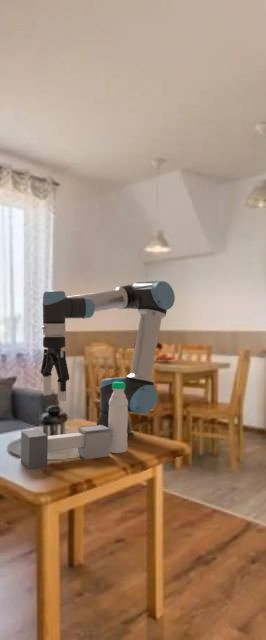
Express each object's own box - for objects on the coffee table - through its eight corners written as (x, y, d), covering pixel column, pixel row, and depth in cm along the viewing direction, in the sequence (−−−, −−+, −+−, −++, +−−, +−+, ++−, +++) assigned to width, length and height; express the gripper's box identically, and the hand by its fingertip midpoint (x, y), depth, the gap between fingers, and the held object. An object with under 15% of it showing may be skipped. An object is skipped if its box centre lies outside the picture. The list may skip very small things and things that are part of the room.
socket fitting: (38, 458, 157) (38, 429, 157) (47, 466, 149) (47, 435, 149) (20, 461, 154) (21, 431, 154) (28, 469, 146) (29, 437, 146)
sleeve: (101, 450, 168) (101, 424, 168) (109, 456, 162) (110, 428, 162) (77, 454, 163) (78, 427, 163) (85, 459, 157) (86, 431, 157)
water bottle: (124, 454, 164) (126, 383, 164) (105, 453, 165) (106, 382, 165) (129, 449, 171) (130, 381, 171) (110, 447, 172) (111, 380, 172)
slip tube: (86, 443, 163) (86, 431, 163) (91, 446, 160) (91, 434, 160) (33, 449, 154) (33, 437, 154) (37, 453, 150) (37, 440, 150)
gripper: (31, 334, 167) (31, 393, 168) (57, 338, 146) (57, 405, 146) (51, 334, 171) (51, 391, 172) (79, 337, 150) (79, 402, 150)
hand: (54, 397), depth 159 cm, fingers open, 13 cm apart
